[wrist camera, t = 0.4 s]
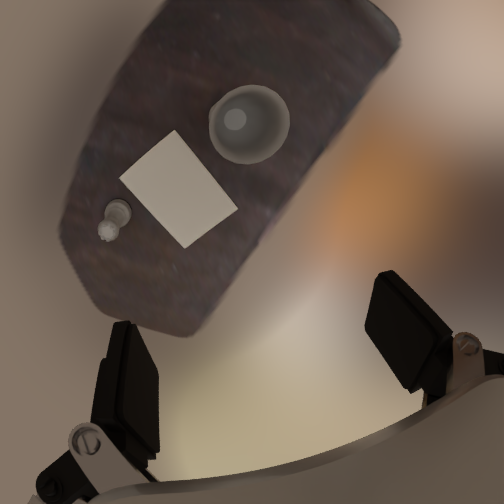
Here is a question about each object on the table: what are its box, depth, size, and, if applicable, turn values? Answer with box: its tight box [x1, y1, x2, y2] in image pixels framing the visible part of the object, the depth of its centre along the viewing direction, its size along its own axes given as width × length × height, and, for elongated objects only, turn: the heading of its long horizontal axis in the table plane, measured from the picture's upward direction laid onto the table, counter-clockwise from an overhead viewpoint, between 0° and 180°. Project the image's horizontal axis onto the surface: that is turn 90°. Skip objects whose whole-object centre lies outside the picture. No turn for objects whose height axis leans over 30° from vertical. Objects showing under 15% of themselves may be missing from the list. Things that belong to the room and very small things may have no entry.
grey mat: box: [120, 130, 238, 248], centre depth 41 cm, size 16×11×1 cm
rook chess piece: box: [98, 199, 132, 242], centre depth 37 cm, size 4×4×8 cm
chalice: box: [208, 85, 290, 164], centre depth 30 cm, size 7×7×18 cm
